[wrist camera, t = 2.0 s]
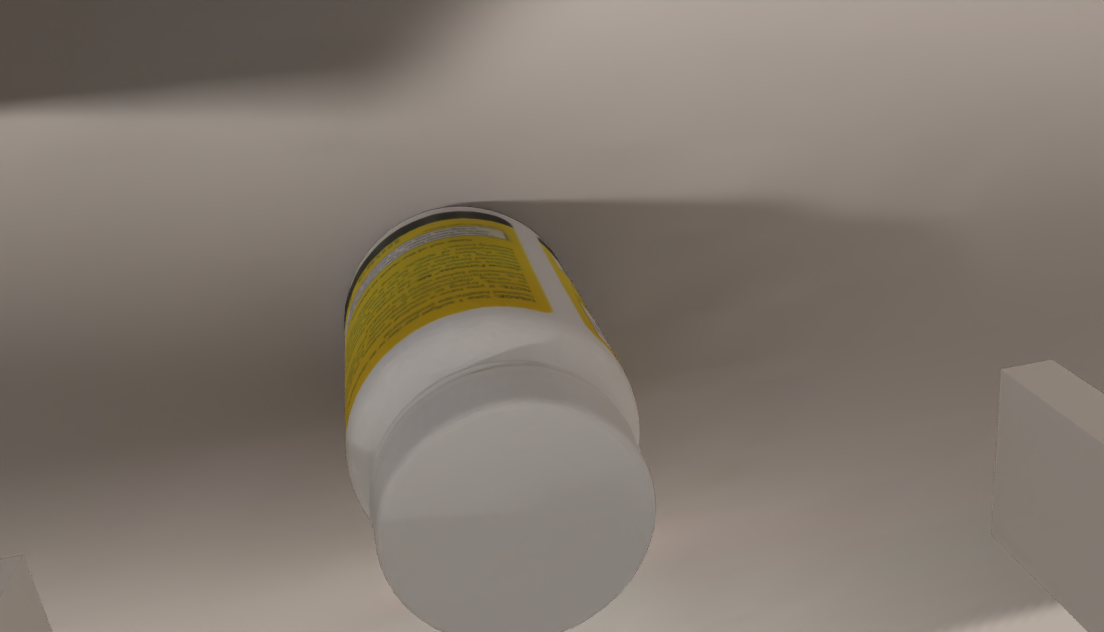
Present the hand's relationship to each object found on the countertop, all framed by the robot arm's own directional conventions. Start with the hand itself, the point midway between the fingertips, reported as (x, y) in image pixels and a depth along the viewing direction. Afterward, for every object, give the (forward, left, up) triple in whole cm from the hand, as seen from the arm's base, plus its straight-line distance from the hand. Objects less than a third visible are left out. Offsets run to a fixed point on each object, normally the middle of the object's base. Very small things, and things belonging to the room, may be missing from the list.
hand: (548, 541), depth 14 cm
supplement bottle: (0, 0, -9) cm, 9 cm away
